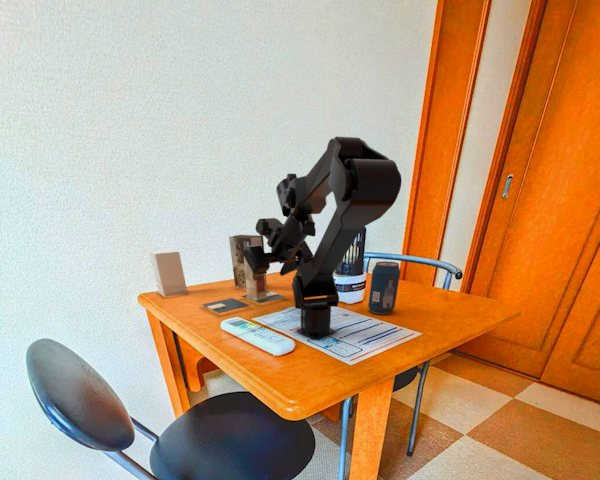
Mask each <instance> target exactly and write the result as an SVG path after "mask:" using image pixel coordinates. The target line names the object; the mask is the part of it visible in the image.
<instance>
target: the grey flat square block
mask: <svg viewBox="0 0 600 480" xmlns="http://www.w3.org/2000/svg"><path fill="white" fill-rule="evenodd" d="M241 297H242V298H245V299H247V300H250V301H252V302H255V303H258V304H263V303H268V302H272V301H276V300H281V299H284V298H287V296H286V295H283V294H280V293H277V292H273V291H270V290H266V297H267V298H264V299H259V300H255V299H253V298H250V297H247V294H245V295H241Z"/></svg>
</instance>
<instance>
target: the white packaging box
mask: <svg viewBox="0 0 600 480" xmlns="http://www.w3.org/2000/svg"><path fill="white" fill-rule="evenodd" d="M148 253H149V258H150V262H151V266H152V270H153V274H154V275H153V276H154V278H155V282H156V286H157V290H158V294H159V295H161V296H162V297H163V298H166V297H172V296H177V295H178V296H179V295H182V294H187V293H188V289H187V284H186V278H185V273H184V269H183V264H182V260H181V255H180V251H178V250H175V249H172V248H171V249H159V250H151V251H148Z"/></svg>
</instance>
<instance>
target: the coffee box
mask: <svg viewBox="0 0 600 480" xmlns="http://www.w3.org/2000/svg"><path fill="white" fill-rule="evenodd" d="M228 241H229V249H230V256H231V262H232V263H231V264H232V272H233V280H234V286H235V288H238V289H239V288H240V289H245V290H247V287H246V277H245V266H244V255H243V252H244V250H245V248H246V246H254V245H261V247H262V248H263V250H264V251H265V244H264V236H261V235H257V234H256V235H255V234H254V235H253V234H236V235H231V236H228ZM265 281H266V282H267V273H266V274H265Z"/></svg>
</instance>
